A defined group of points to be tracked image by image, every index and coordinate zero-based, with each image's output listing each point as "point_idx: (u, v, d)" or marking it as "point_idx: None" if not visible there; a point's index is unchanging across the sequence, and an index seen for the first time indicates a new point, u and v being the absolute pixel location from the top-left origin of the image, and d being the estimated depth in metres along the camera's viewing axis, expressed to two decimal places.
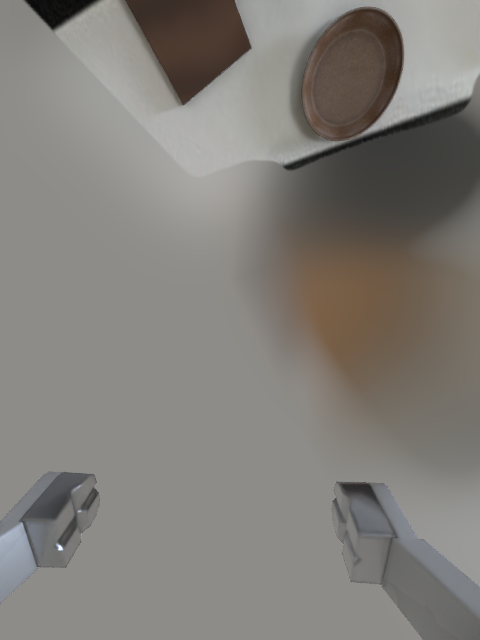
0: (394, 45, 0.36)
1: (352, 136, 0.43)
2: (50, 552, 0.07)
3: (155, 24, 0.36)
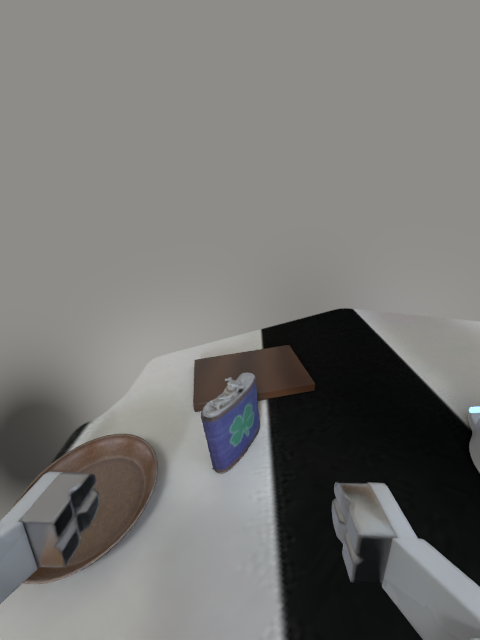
0: (69, 572, 0.21)
1: (25, 491, 0.27)
2: (50, 552, 0.07)
3: (239, 358, 0.50)
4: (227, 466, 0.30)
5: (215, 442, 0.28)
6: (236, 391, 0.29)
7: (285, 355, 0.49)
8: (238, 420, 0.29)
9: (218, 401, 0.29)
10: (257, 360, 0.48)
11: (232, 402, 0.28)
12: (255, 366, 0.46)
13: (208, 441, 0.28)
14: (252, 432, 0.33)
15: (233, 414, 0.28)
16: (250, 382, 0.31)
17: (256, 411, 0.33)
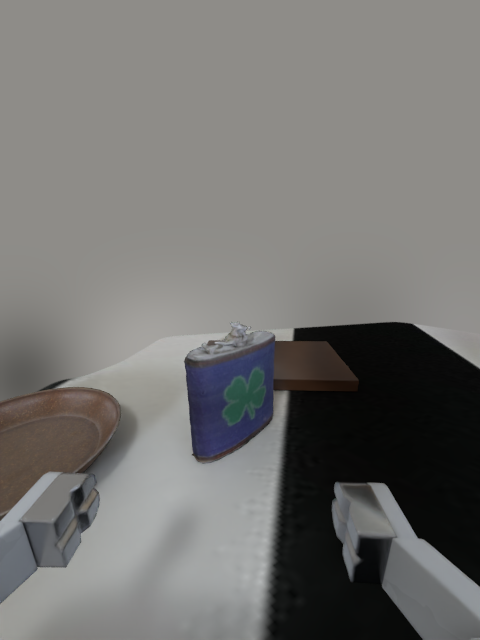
0: None
1: None
2: (50, 552, 0.07)
3: None
4: (213, 453, 0.20)
5: (200, 405, 0.18)
6: (243, 339, 0.20)
7: (320, 349, 0.38)
8: (239, 384, 0.20)
9: (215, 348, 0.20)
10: (283, 349, 0.38)
11: (234, 351, 0.19)
12: (279, 354, 0.37)
13: (190, 403, 0.19)
14: (259, 416, 0.22)
15: (233, 370, 0.19)
16: (266, 338, 0.22)
17: (270, 389, 0.23)
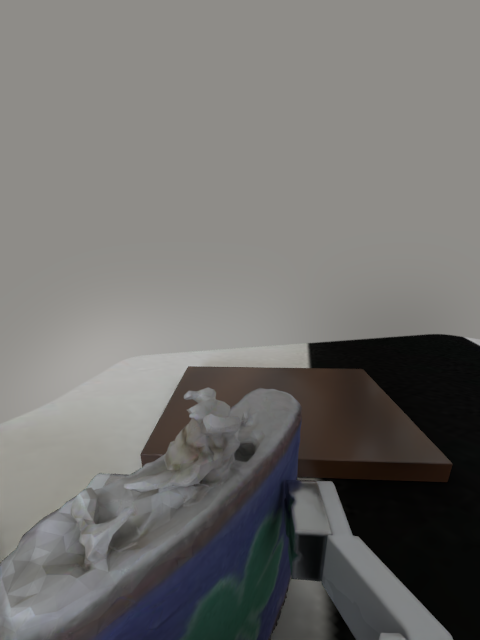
0: None
1: None
2: None
3: (265, 376, 0.26)
4: None
5: None
6: (226, 455, 0.06)
7: (358, 386, 0.24)
8: (216, 606, 0.06)
9: (130, 496, 0.06)
10: (300, 384, 0.25)
11: (196, 520, 0.05)
12: (296, 396, 0.23)
13: None
14: (269, 616, 0.09)
15: (193, 586, 0.05)
16: (286, 422, 0.08)
17: None
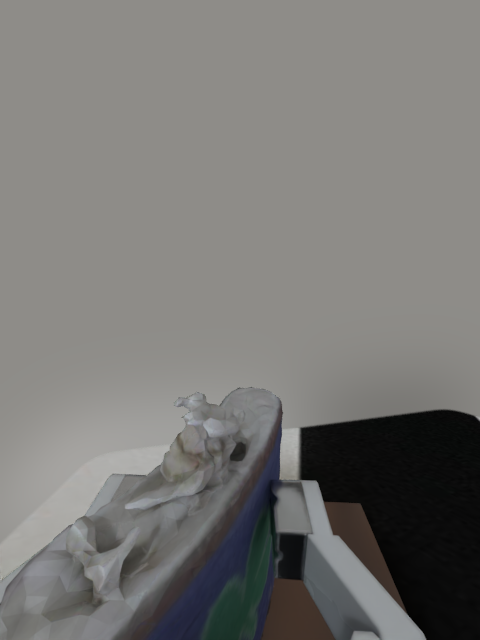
0: None
1: None
2: None
3: None
4: None
5: None
6: (224, 457, 0.06)
7: (354, 548, 0.20)
8: (224, 610, 0.06)
9: (129, 517, 0.05)
10: None
11: (206, 527, 0.05)
12: None
13: None
14: (263, 608, 0.09)
15: (205, 595, 0.05)
16: (271, 418, 0.09)
17: None
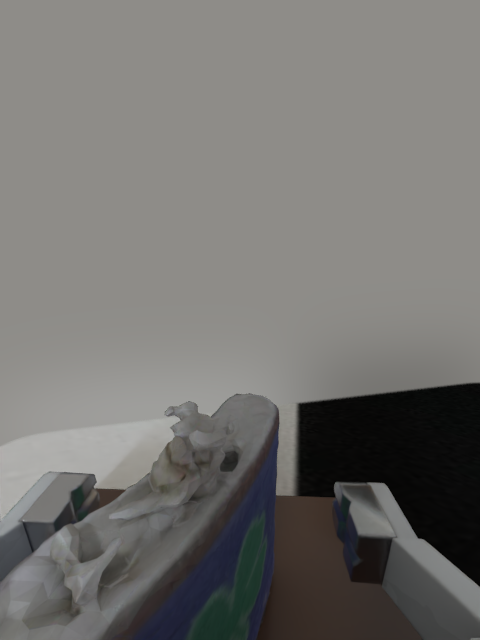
0: None
1: None
2: None
3: None
4: None
5: None
6: (212, 469, 0.06)
7: None
8: (209, 620, 0.06)
9: (115, 525, 0.05)
10: None
11: (188, 541, 0.05)
12: None
13: None
14: (256, 615, 0.09)
15: (187, 606, 0.05)
16: (266, 427, 0.09)
17: (272, 527, 0.10)
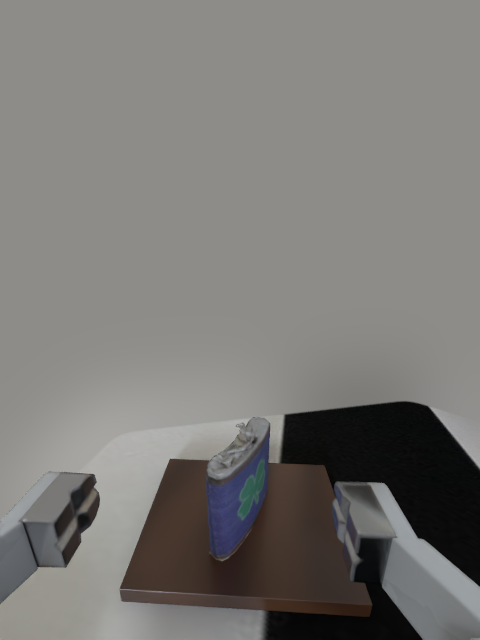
0: None
1: None
2: (50, 552, 0.07)
3: None
4: (230, 549, 0.22)
5: (221, 514, 0.20)
6: (250, 442, 0.23)
7: (315, 492, 0.28)
8: (249, 482, 0.22)
9: (227, 455, 0.22)
10: None
11: (246, 458, 0.22)
12: None
13: (210, 513, 0.21)
14: (261, 497, 0.25)
15: (246, 474, 0.22)
16: (265, 430, 0.25)
17: (267, 468, 0.27)
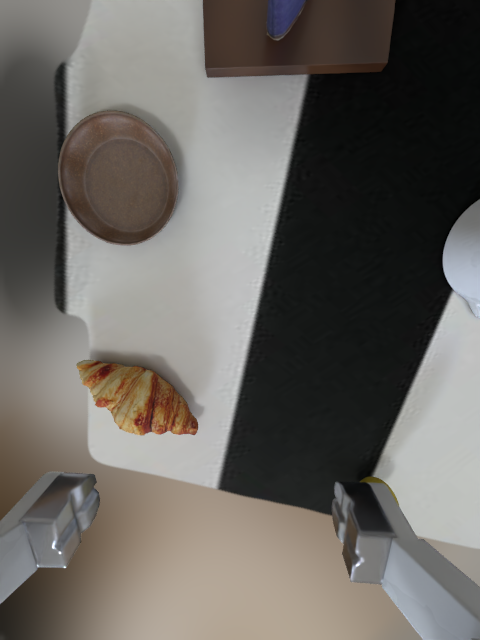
0: (134, 239, 0.33)
1: (60, 171, 0.30)
2: (50, 552, 0.07)
3: None
4: (286, 29, 0.26)
5: None
6: None
7: None
8: None
9: None
10: None
11: None
12: None
13: None
14: None
15: None
16: None
17: None
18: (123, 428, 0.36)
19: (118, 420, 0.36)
